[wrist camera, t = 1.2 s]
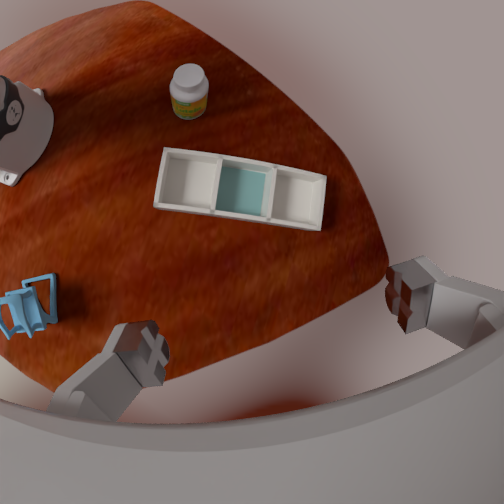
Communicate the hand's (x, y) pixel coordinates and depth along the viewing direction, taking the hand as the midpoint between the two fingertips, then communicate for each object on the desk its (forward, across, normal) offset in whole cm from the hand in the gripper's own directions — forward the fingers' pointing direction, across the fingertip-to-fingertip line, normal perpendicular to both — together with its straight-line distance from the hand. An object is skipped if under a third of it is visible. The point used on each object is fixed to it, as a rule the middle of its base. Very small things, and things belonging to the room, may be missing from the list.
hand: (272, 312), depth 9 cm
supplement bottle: (+37, +7, -12) cm, 40 cm away
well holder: (+33, +2, +4) cm, 33 cm away
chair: (+23, +38, +8) cm, 45 cm away
